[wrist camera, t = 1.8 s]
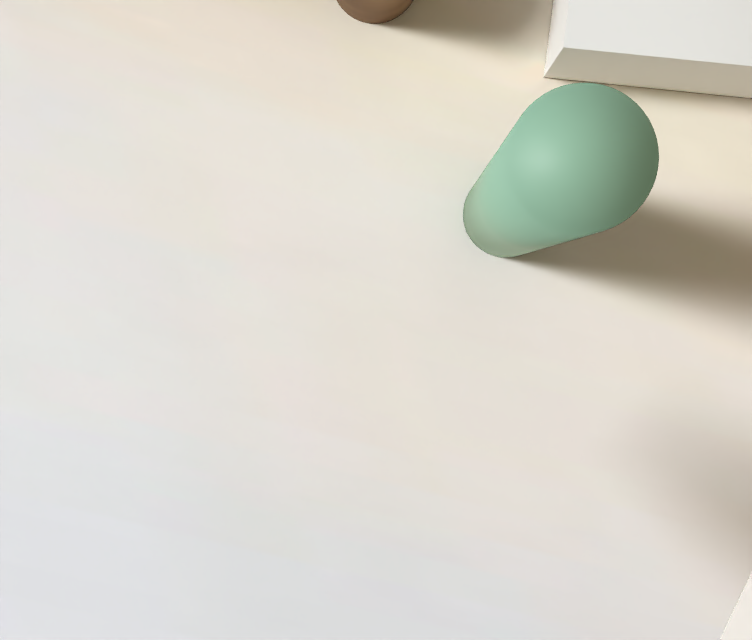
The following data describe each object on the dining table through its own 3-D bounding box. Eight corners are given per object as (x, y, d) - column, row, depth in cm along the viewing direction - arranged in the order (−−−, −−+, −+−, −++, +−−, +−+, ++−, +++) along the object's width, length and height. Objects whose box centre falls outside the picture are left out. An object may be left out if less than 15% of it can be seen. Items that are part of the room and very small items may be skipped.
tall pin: (458, 252, 33) (498, 225, 19) (468, 166, 33) (516, 75, 19) (544, 262, 33) (647, 242, 19) (555, 175, 33) (668, 90, 19)
